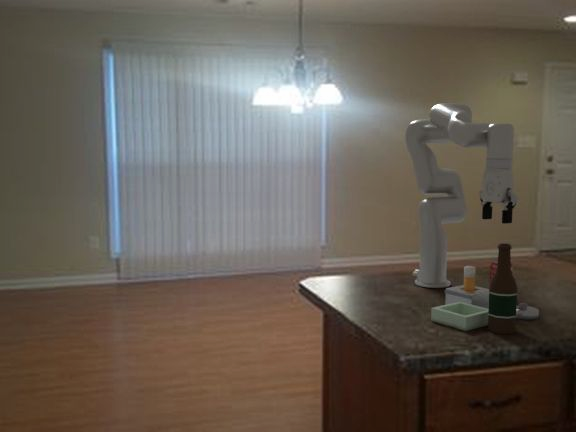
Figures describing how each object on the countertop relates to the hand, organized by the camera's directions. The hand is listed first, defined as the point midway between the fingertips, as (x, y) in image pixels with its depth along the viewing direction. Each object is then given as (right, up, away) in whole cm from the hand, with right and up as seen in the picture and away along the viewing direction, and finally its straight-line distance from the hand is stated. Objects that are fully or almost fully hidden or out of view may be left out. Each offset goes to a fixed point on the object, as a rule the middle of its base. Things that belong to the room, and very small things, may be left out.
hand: (496, 221), depth 196 cm
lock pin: (-7, -27, +4) cm, 28 cm away
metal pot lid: (+6, -28, -4) cm, 29 cm away
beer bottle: (-5, -30, -19) cm, 36 cm away
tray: (-13, -29, -11) cm, 34 cm away
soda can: (+6, -26, +14) cm, 30 cm away
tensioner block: (-7, -27, +4) cm, 28 cm away
